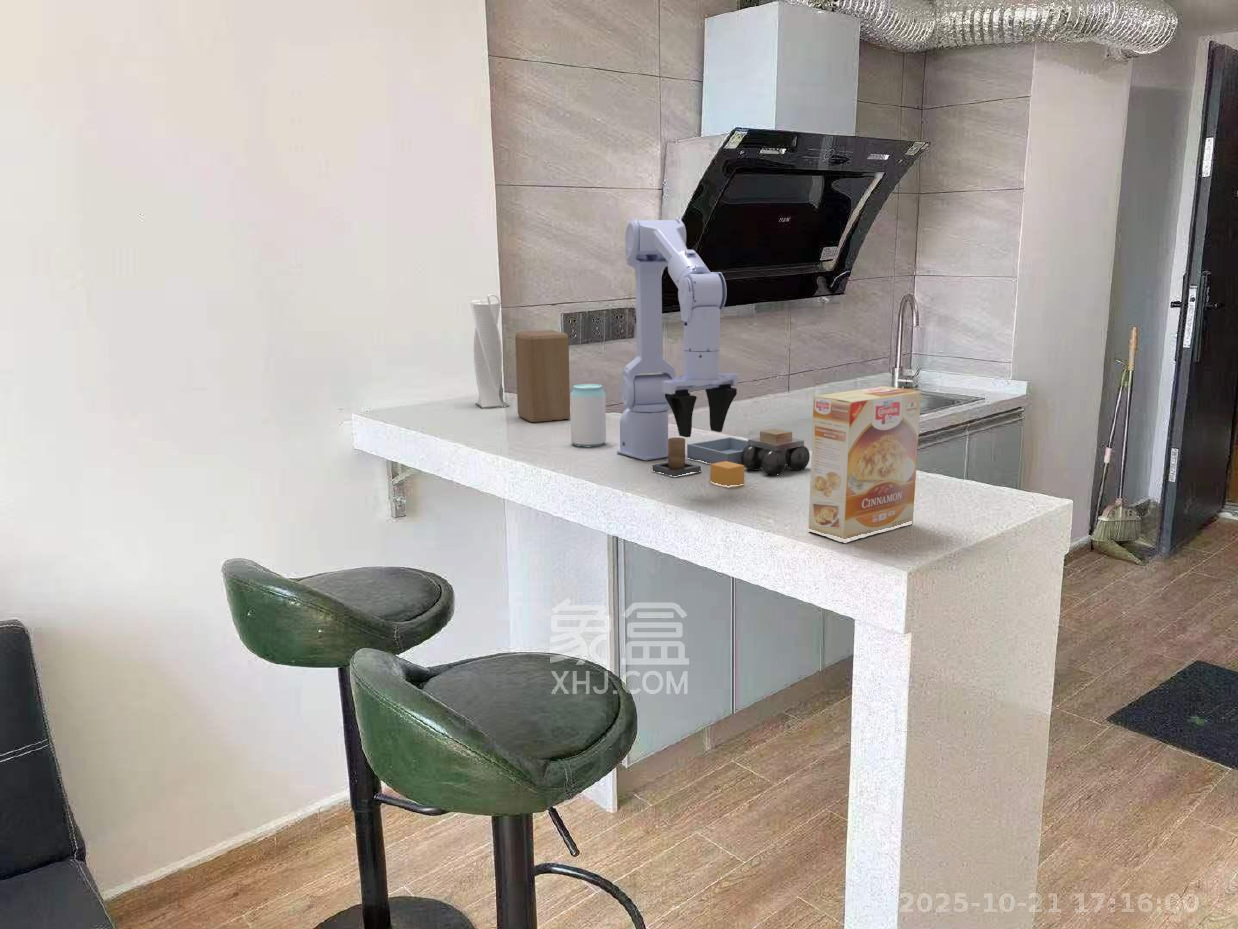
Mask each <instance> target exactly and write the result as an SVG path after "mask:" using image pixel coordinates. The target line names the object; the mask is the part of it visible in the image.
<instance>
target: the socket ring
mask: <svg viewBox="0 0 1238 929" xmlns="http://www.w3.org/2000/svg"><path fill="white" fill-rule="evenodd" d="M651 469H652V470H653V471H655V472H661V473H664V474H667V475H672V476H678V475H682V474H686V473H690V472H699V471H701V472H702V466H701V465H698V464H695V463H690V462H687V461H685V468H681V469H676V470H674V469H671V468H668V461H667V462H662V463H661V462H660V463H655V464H652V468H651ZM655 472H654V473H655Z"/></svg>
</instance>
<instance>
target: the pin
mask: <svg viewBox="0 0 1238 929" xmlns="http://www.w3.org/2000/svg"><path fill="white" fill-rule="evenodd" d="M667 462H668V468H671V469H674V470H676V469H681V468H685V462H686V439H685V437H668V457H667Z"/></svg>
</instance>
